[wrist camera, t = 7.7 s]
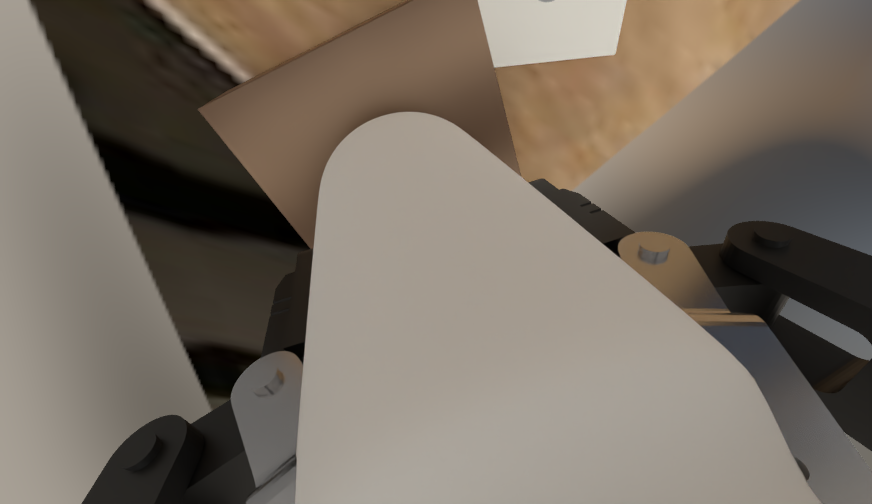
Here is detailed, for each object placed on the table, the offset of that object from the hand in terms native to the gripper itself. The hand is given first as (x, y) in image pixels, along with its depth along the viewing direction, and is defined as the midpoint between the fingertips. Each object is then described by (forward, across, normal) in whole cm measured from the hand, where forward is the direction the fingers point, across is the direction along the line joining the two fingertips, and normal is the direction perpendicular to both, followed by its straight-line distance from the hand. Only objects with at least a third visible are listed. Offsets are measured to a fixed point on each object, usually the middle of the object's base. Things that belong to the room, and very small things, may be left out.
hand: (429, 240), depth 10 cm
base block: (+10, 0, 0) cm, 10 cm away
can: (+4, 0, 0) cm, 4 cm away
